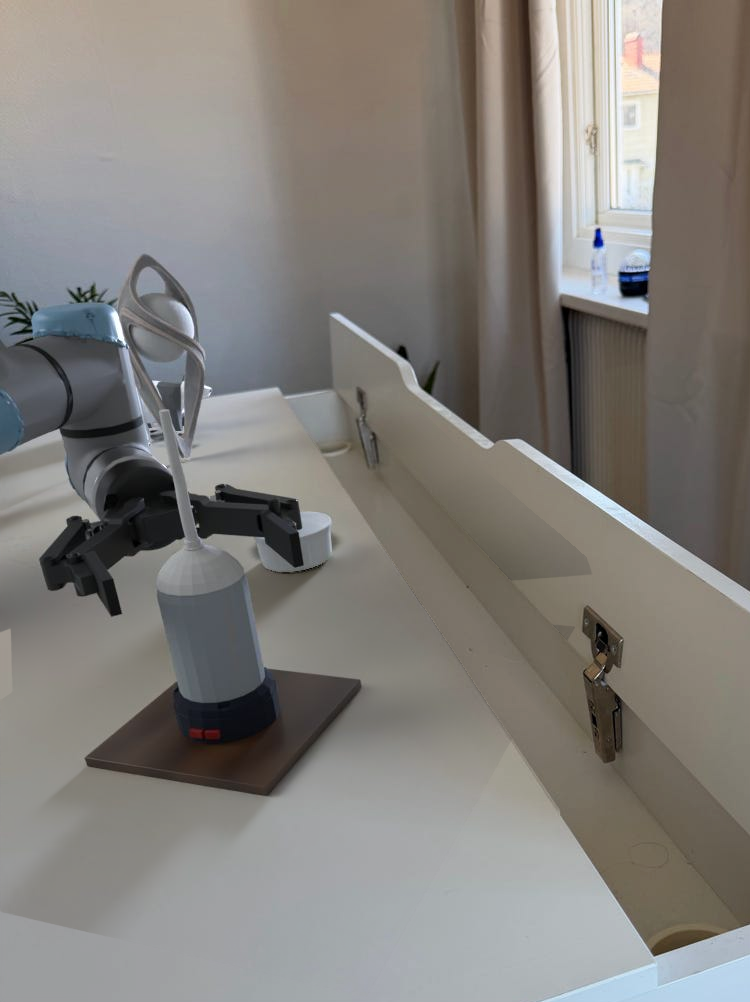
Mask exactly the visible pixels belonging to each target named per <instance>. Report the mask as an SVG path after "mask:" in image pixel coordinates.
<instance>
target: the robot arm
mask: <svg viewBox="0 0 750 1002" xmlns="http://www.w3.org/2000/svg"><path fill="white" fill-rule="evenodd" d="M116 310H117V309H115V308H114V307H113V306H111V305H110V304H108V303H106V302H97V301H96V302H95V301H94V302H93V301H90V302H89V301H88V302H73V303H65V304H59V305H58V304H57V305H53V306H48V307H42V308H41V309H39V310H37V311H35V312H34V313H33V314H32V316H31V328H32V336H31V337H32V338H33V339H31V340H28V341H25V342H22V343H18V344H14V345H11V346H6V345H5V344H4V342H3V341H2V340H1V339H0V456H1V455H3V454H6V453H8V452H9V453H10V452H12V451H14V450H15V449H16V448H18V447H19V446H22V445H24V444H26V443H29V442H30V441H33V440H35V439H37V438H40V437H42V436H45V435H47V434H50V433H53V432H55V431H57V430H59V433H60V436H61V439H62V442H63V446H64V451H65V456H64V467H65V471H66V474H67V477H68V481H69V484H70V486H71V488H72V489H73V490H74V491H75V492H76V494H77V495H78V497H80V499H81V500H83V501H84V502H85V503H86V504H87V506H88V507H89V508H90V509H91V511H92V512H93V514H94V515H95V516H96V517H97V518H98V521H93V522H90V519H89V518H84V519H83V517H82V516H81V515H72V516H70V517H67V518H66V520H65V523H66V527H65V528H64V529H63V530H62V531H61V533H60V534H59V535H58V536H57V537H56V538H55V539H54V541H53V542H52V543H51V544H50V546H49V547H48V548H47V549H46V550H45V551H44V552H43V554H41V556H40V557H39V559H38V561H39V565H40V568H41V571H42V575H43V579H44V582H45V585H46V588H47V591H50V592H54V591H55V592H56V591H59V590H61V589H64V588H65V587H66V586H67V584H69V583H71V584H73V587H74V589H75V594H76V596H77V597H87V596H90V595H91V596H92V595H95V594H96V595H97V596H98V598H99V599H100V601H101V603H102V604H103V606H104V608H105V610H106V611H107V612H108V614H109V615H110V617H111V618H112V617H116V616H121V615H123V611H122V607H121V603H120V600H119V599H120V598H119V596H118V595H119V594H118V591H117V587H116V584H115V580H114V578H113V576H112V574H111V573H110V572H109V570H110V569H111V568H113V567H114V565H116V564H118V563H119V562H120V561H121V560H122V559H123V558H124V557H134V556H136V555H137V554H138V553H139V552H148V551H156V550H161V549H163V548H165V547H168V546H169V545H171V544H173V543H174V542H175V541H180V540H183V539H185V534H184V530H183V526H182V522H181V518H180V513H179V508H178V503H177V497H176V491H175V485H174V480H173V476H172V472H171V470H169V469H168V468H167V466H165V465H164V464H163V463H162V462H160V461H159V460H158V459H157V458H155V457H154V456H153V454H152V453H151V447H150V446H149V444H148V443H149V440H148V439H147V434H146V430H145V426H144V422H143V419H142V414H141V409H140V404H139V400H138V395H137V390H136V385H135V380H134V376H133V371H132V366H131V361H130V356H129V352H128V351H129V347H128V345H127V343H126V342H125V339H124V335H123V331H122V328H121V324H120V320H119V317H118V314H117V312H116ZM214 490H215V491H214V495H213V494H212V495H210V496H208V495H205V494H204V495H203V494H197V493H191V492H189V491H188V495H189V500H190V505H191V510H192V514H193V518H194V522H195V527H196V530H197V534H198V537H200V538H201V540H206V539H208V538H209V537H211V536H213V535H222V536H235V537H237V536H238V537H250V538H253V537H264V538H265V543H266V544H267V545H268V546H269V547H270V548H272V549H273V550H274V551H275V552H276V553H278V554H279V555H280V556H281V557H282V558H283V559H285V560H286V561H287V562H288V563H289V564H291V565H292V566H293V567H294V568H296V567H300V566H304V563H303V556H302V550H301V544H300V537H299V532H298V530H301V529H302V522H301V515H300V512H301V510H300V509H301V508H300V504H299V499H297V498H295V497H288V496H281V495H276V494H270V493H264V492H258V491H252V490H246V489H241V488H236V487H234V486H232V485H230V484H228V483H220V484H217V485H215V486H214ZM197 526H198V527H197Z"/></svg>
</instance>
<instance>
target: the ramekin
mask: <svg viewBox="0 0 750 1002" xmlns="http://www.w3.org/2000/svg"><path fill="white" fill-rule="evenodd" d="M300 515H301V522H302V529H301V530H298V532H299V537H300V544H301V550H302V556H303V563H304V566H300V567H296V568H294V567H293V566H292V565H291V564H289V563H288V562H287V561H286V560H285V559H283V558H282V557H281V556H280V555H279V554H278V553H276V552H275V551H274V550H273V549H272V548H270V547H269V546H268V545H267V544H266V543H265V538H264V537H252V539H253V540H254V541H255V544H256V548H257V552H258V555H259V559H260V562H261V565H262V566H263V567H264V568H265V569H267V570H269V571H271V570H272V571H271V572H275V571H276V573H282V572H290V573H294V572H293V571H299V572H301V571H300V570H305V569H309V568H312V569H314V568H313V567H315V566H317V567H319V566H318V565H320V564H321V565H323V564H324V563H323V562H325V561H326V560H327V561H328V560H329V559H330V558H331V556H332V553H333V552H332V550H333V549H332V536H331V535H332V533H331V529H332V519H331V517H330V516H329V515H327V514H325V513H322V512H317V511H300ZM329 557H330V558H329ZM327 561H326V562H327ZM326 562H325V563H326ZM322 563H323V564H322ZM321 565H320V566H321ZM315 568H316V567H315ZM309 570H310V569H309ZM305 571H306V570H305Z"/></svg>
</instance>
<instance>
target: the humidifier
mask: <svg viewBox="0 0 750 1002" xmlns="http://www.w3.org/2000/svg"><path fill="white" fill-rule="evenodd" d="M159 415H160V420H161V425H162V429H161V431H162V430H163V431H162V434H163V440H164V443H165V449H166V454H167V458H168V463H169V468H170V472H172V476H173V480H174V485H175V491H176V497H177V503H178V508H179V513H180V518H181V522H182V526H183V530H184V534H185V537H184V540H183V543H184V545H182V548H181V549H180V550H178V551H177V552H175V553H173V554H172V555H171V556H170V557H169V558H168V559H167V561H165V563H164V564H163V565H162V567H161V568H160V570H159V571H158V574H157V577H156V581H155V588H156V598H157V603H158V606H159V611H160V615H161V620H162V624H163V628H164V632H165V637H166V640H167V645H168V649H169V653H170V658H171V662H172V665H173V670H174V675H175V678H176V682H177V683H178V685H177V687H176V688H175V690H174V694H173V699H174V710H175V714H176V718H177V722H178V726H179V730H180V731H181V733H182V734H183V735H184V736H185V737H187V738H189V739H190V740H192V741H196V742H201V743H207V744H212V743H227V742H232V741H238V740H242V739H244V738H247V737H250V736H253V735H255V734H257V733H259V732H261V731H262V730H264V729H266V728H268V727H269V726H270V725H271V724H272V723H273V722H274V721H275V720H276V719H277V717H278V715H279V713H280V704H279V698H278V693H277V688H276V682H275V680H274V679H273V674H272V673H271V672H270V671H269V670H268V669H269V668H267V667H266V666H264V661H263V656H262V651H261V646H260V645H261V644H260V641H259V635H258V630H257V629H258V628H257V625H256V619H255V614H254V610H253V604H252V599H251V594H250V593H251V592H250V588H249V582H248V579H247V575H246V572H245V569H244V566H243V565H242V563H241V562H240V561H239V560H238V559H237V558H235V557H234V556H233V555H232V554H230V553H229V552H228V551H226V550H223V549H222V548H219V547H218V546H217V547H216V546H213V545H209V544H205V542H203V541H202V539H201V538H200V537H198V534H197V530H196V527H197V526H195V522H194V518H193V514H192V510H191V505H190V500H189V495H188V492H189V490H188V484H187V479H186V475H185V472H184V467H183V463H182V458H181V456H180V455H179V451H178V446H177V442H176V438H175V434H174V429H173V425H172V421H171V416H170V412H169V410H168V409H164V410H163V409H162V410H160V411H159Z"/></svg>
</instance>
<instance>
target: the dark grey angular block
mask: <svg viewBox="0 0 750 1002" xmlns="http://www.w3.org/2000/svg"><path fill="white" fill-rule="evenodd" d="M184 376H185V374H184V375H183V376H182V378H181V379H182V381H162V380H152V382H153V384H154V386H155V388H156V389H157V391H158V393H159V395H160V397H161V399H162V401H163V403H164V406H165V408H166V409H168V410H169V412H170V416H171V421H172V424H173V427H174V429H175V431H182V430H183V426H184V425H185V417H184ZM212 392H213V387H210V386H208V385H205V386H204V392H203V397H202V400H204V399H207V398H209V397H211V393H212ZM141 400H142V398H141ZM142 404H143V408H144V413H145V417H146V421H147V425H148V428H152V427H154V426H155V425H154V424H157V422H156V421H155V419H154V418H153V416H152V415H151V413H150V412H149V410H148V409H147V407H146V405H145V404H144V402H143V400H142Z"/></svg>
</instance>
